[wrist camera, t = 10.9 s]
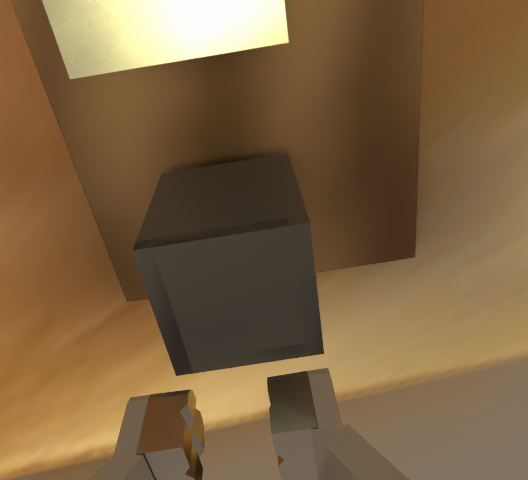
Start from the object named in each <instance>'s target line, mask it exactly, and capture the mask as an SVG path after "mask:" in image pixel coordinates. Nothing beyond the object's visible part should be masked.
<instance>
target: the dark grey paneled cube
mask: <svg viewBox="0 0 528 480" xmlns="http://www.w3.org/2000/svg"><path fill="white" fill-rule="evenodd" d="M132 252H133V255H134V257H135V260H136V263H137V266H138V269H139V272H140V274H141V277H142V280H143V283H144V286H145V289H146V291H147V294H148V297H149V300H150V303H151V306H152V309H153V311H154V314H155V317H156V320H157V323H158V326H159V328H160V331H161V334H162V337H163V340H164V343H165V345H166V348H167V351H168V354H169V357H170V360H171V362H172V365H173V368H174V371H175V374H176V376H179V375H185V374H192V373H199V372H205V371H212V370H219V369H225V368H232V367H238V366H245V365H252V364H258V363H265V362H272V361H278V360H285V359H292V358H298V357H305V356H312V355H318V354H324V349H323V340H322V331H321V321H320V312H319V303H318V294H317V284H316V275H315V266H314V257H313V247H312V238H311V229H310V222H309V218H308V215H307V212H306V209H305V206H304V203H303V199H302V196H301V193H300V190H299V187H298V183H297V180H296V177H295V174H294V171H293V168H292V164H291V161H290V158H289V155H288V153H287V154H281V155H275V156H268V157H262V158H256V159H250V160H244V161H237V162H231V163H225V164H219V165H213V166H206V167H200V168H194V169H188V170H182V171H176V172H169V173H163V174H161V177H160V179H159V182H158V184H157V187H156V190H155V192H154V195H153V197H152V200H151V203H150V205H149V208H148V211H147V213H146V216H145V218H144V221H143V224H142V226H141V229H140V231H139V234H138V237H137V239H136V242H135V244H134V247H133V250H132Z"/></svg>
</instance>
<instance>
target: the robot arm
mask: <svg viewBox="0 0 528 480" xmlns="http://www.w3.org/2000/svg"><path fill="white" fill-rule="evenodd" d="M267 384H268V394H269V399H270V404H271V406H270V408H269V409H270V420H271V431H272V437H273V443H274V447H275V452H276V454H277V455H278V465H279V470H280V475H281V479H282V480H409V479H408V478H407V477H406V476H405V475H404V474H402V472H400V471H399V470H398V469H397V468H396V467H395V466H394V465H393V464H392V463H391V462H389V461H388V460H387V459H386V458H385V457H384V456H383V455H382V454H381V453H379V451H377V450H376V449H375V448H374V447H373V446H372V445H371V444H370V443H369V442H367V440H365V439H364V438H363V437H362V436H361V435H360V434H359V433H357V431H356V430H355V429H353V428H352V427H351V426H350V425H349V424H347V425H342V421H341V417H340V413H339V409H338V405H337V401H336V397H335V392H334V388H333V384H332V380H331V376H330V372H329V370H328V369H327V368H324V369H318V370H312V371H304V372H298V373H292V374H286V375H280V376H273V377H267ZM195 406H196V398H195V395H194V392H193V390H183V391H175V392H167V393H159V394H151V395H145V396H138V397H131V398H130V400H129V401H128V403H127V406H126V410H125V413H124V417H123V421H122V425H121V429H120V433H119V437H118V441H117V444H116V448H115V452H114V456H113V459H109V460H106V461H105V462H104V463H103V465H102V466H101V467H100V468H99V469H98V470H97V471H96V473H95V474H94V475H93V476H92V477H91V478H90V479H89V480H202V474H203V467H202V464H201V461H200V458H199V457H200V456H201V454H202V453H203V452H204V443H205V436H204V425H203V419H202V416H201V413H200V411H199V410H197V409H196V408H195Z"/></svg>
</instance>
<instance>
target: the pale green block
mask: <svg viewBox="0 0 528 480" xmlns="http://www.w3.org/2000/svg"><path fill="white" fill-rule="evenodd" d="M42 2H43V4H44V7H45V10H46V13H47V16H48V19H49V21H50V24H51V27H52V30H53V33H54V35H55V38H56V41H57V44H58V47H59V50H60V52H61V55H62V58H63V61H64V64H65V66H66V69H67V72H68V75H69V78H70V79H75V78H81V77H87V76H93V75H99V74H105V73H111V72H117V71H122V70H128V69H134V68H140V67H146V66H152V65H158V64H164V63H170V62H176V61H182V60H188V59H194V58H200V57H206V56H212V55H218V54H224V53H230V52H236V51H241V50H247V49H253V48H259V47H265V46H271V45H277V44H283V43H289V40H288V31H287V21H286V12H285V3H284V0H42Z"/></svg>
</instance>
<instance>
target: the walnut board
mask: <svg viewBox="0 0 528 480" xmlns="http://www.w3.org/2000/svg"><path fill="white" fill-rule="evenodd" d="M11 3H12V5H13V8H14V10H15V13H16V16H17V18H18V21H19V23H20V26H21V29H22V31H23V34H24V36H25V39H26V41H27V44H28V47H29V49H30V52H31V54H32V57H33V60H34V62H35V65H36V67H37V70H38V73H39V75H40V78H41V80H42V83H43V85H44V88H45V91H46V93H47V96H48V98H49V101H50V104H51V106H52V109H53V111H54V114H55V117H56V119H57V122H58V124H59V127H60V129H61V132H62V135H63V137H64V140H65V142H66V145H67V148H68V150H69V153H70V155H71V158H72V161H73V163H74V166H75V168H76V171H77V173H78V176H79V179H80V181H81V184H82V186H83V189H84V192H85V194H86V197H87V199H88V202H89V205H90V207H91V210H92V212H93V215H94V217H95V220H96V223H97V225H98V228H99V230H100V233H101V236H102V238H103V241H104V243H105V246H106V248H107V251H108V254H109V256H110V259H111V261H112V264H113V267H114V269H115V272H116V274H117V277H118V280H119V282H120V285H121V287H122V290H123V292H124V295H125V298H126V300H127V302H129V301H136V300H142V299H149V297H148V294H147V291H146V289H145V286H144V283H143V280H142V277H141V274H140V272H139V269H138V266H137V263H136V260H135V257H134V255H133V252H132V250H133V247H134V244H135V242H136V239H137V237H138V234H139V231H140V229H141V226H142V224H143V221H144V218H145V216H146V213H147V211H148V208H149V205H150V203H151V200H152V197H153V195H154V192H155V190H156V187H157V184H158V182H159V179H160V177H161V174H163V173H169V172H176V171H182V170H188V169H194V168H200V167H206V166H213V165H219V164H225V163H231V162H237V161H244V160H250V159H256V158H262V157H268V156H275V155H281V154H287V153H288V155H289V158H290V161H291V164H292V168H293V171H294V174H295V177H296V180H297V183H298V187H299V190H300V193H301V196H302V199H303V203H304V206H305V209H306V212H307V215H308V218H309V222H310V229H311V238H312V247H313V257H314V266H315V273H316V272H323V271H329V270H336V269H342V268H349V267H355V266H361V265H368V264H374V263H381V262H387V261H394V260H400V259H407V258H413V257H415V243H416V210H417V178H418V145H419V112H420V79H421V46H422V14H423V0H284V3H285V12H286V21H287V31H288V40H289V43H283V44H277V45H271V46H265V47H259V48H253V49H247V50H241V51H236V52H230V53H224V54H218V55H212V56H206V57H200V58H194V59H188V60H182V61H176V62H170V63H164V64H158V65H152V66H146V67H140V68H134V69H128V70H122V71H117V72H111V73H105V74H99V75H93V76H87V77H81V78H75V79H70V78H69V75H68V72H67V69H66V66H65V64H64V61H63V58H62V55H61V52H60V50H59V47H58V44H57V41H56V38H55V35H54V33H53V30H52V27H51V24H50V21H49V19H48V16H47V13H46V10H45V7H44V4H43V2H42V0H11Z"/></svg>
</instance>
